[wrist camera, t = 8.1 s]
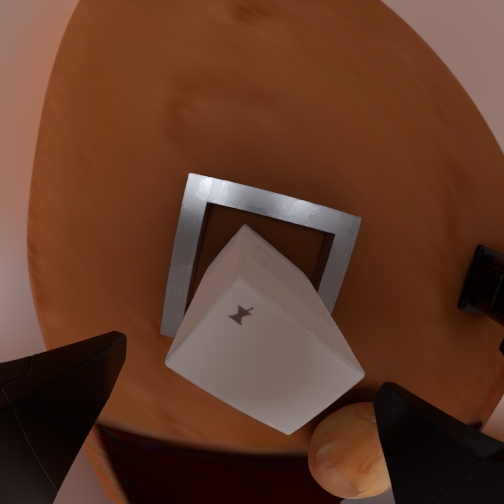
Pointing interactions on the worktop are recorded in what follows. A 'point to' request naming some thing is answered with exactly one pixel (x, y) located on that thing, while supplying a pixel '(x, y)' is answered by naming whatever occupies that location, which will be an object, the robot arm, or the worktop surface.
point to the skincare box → (263, 338)
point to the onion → (349, 453)
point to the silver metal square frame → (261, 202)
